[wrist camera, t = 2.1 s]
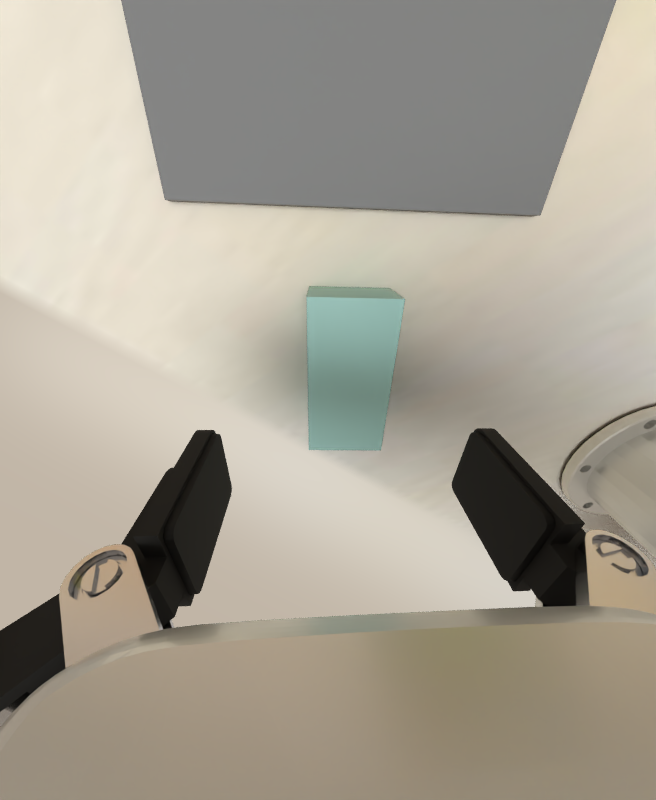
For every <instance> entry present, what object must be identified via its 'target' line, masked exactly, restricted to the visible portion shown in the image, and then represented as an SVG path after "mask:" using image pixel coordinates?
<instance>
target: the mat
mask: <svg viewBox="0 0 656 800" xmlns="http://www.w3.org/2000/svg"><path fill="white" fill-rule="evenodd" d="M121 1H122V6H123V11H124V15H125V20H126V24H127V29H128V33H129V38H130V43H131V47H132V52H133V56H134V61H135V65H136V70H137V75H138V79H139V84H140V88H141V93H142V97H143V102H144V106H145V111H146V116H147V120H148V125H149V129H150V134H151V138H152V143H153V148H154V152H155V157H156V161H157V166H158V170H159V175H160V180H161V184H162V189H163V193H164V198H165V200H168V201H180V202H204V203H228V204H252V205H276V206H301V207H325V208H349V209H373V210H397V211H421V212H446V213H470V214H494V215H518V216H538V215H541V212H542V209H543V206H544V204H545V201H546V198H547V195H548V192H549V189H550V187H551V184H552V181H553V178H554V175H555V172H556V170H557V167H558V164H559V161H560V158H561V155H562V153H563V150H564V147H565V144H566V141H567V138H568V136H569V133H570V130H571V127H572V124H573V121H574V119H575V116H576V113H577V110H578V107H579V104H580V102H581V99H582V96H583V93H584V90H585V87H586V85H587V82H588V79H589V76H590V73H591V70H592V68H593V65H594V62H595V59H596V56H597V53H598V51H599V48H600V45H601V42H602V39H603V36H604V34H605V31H606V28H607V25H608V22H609V19H610V17H611V14H612V11H613V8H614V5H615V2H616V0H121Z"/></svg>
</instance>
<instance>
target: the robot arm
mask: <svg viewBox="0 0 656 800" xmlns="http://www.w3.org/2000/svg"><path fill="white" fill-rule="evenodd" d="M561 485H562V490H563V492H564V494H565V496H566V497H567V498H568V499H569V500H570V501H571V502H572V503H573V505H574V506H576V507H577V508H578V509H580V510H582V511H585V512H588V513H592V514H599V515H610V516H611V517H612V518H613V519H614V520H615V521H616V522H617V523H618V524H619V525H620V526H622V527H623V528H624V529H625V530H626V531H627V532H628V533H629V534H630V535H631V536H632V537H633V538H634V539H635V540H636V541H637V542H638V543H639V544H640V545H642V546H643V547H644V548H645V549H646V550H647V551H648V552H649V553H650V554H651V555H652V556H653V557H654V558H655V559H656V406H654V407H650V408H647V409H643V410H640V411H637V412H635V413H632V414H630V415H627V416H625V417H623V418H621V419H619V420H617V421H615V422H613V423H611V424H609V425H608V426H606V427H605V428H603V429H602V430H600V431H599V432H597V433H596V434H594V435H593V436H592V437H591V438H589V439H588V440H587V441H586V442H585V443H583V445H582V446H581V447H580V448H579V449H578V450H577V451H576V452H575V453H574V454H573V456H572V457H571V459H570V460H569V461H568V463H567V465H566V467H565V469H564V472H563V475H562V480H561ZM452 488H453V491H454V493H455V495H456V497H457V498H458V500H459V502H460V504H461V506H462V507H463V509H464V511H465V513H466V515H467V516H468V518H469V520H470V522H471V524H472V525H473V527H474V529H475V531H476V532H477V534H478V536H479V538H480V540H481V541H482V543H483V545H484V547H485V549H486V550H487V552H488V554H489V556H490V557H491V559H492V561H493V563H494V565H495V566H496V568H497V570H498V572H499V574H500V575H501V577H502V578H503V579H504V580H506V581H508V583H509V585H510V586H511V588H512V590H513V591H529V590H530V589H532V591H533V592H534V594H535V595H536V603H535V607H523V608H499V609H475V610H452V611H432V612H411V613H391V614H369V615H350V616H332V617H312V618H294V619H275V620H257V621H244V622H230V623H216V624H202V625H193V626H185V627H177V628H174V626H173V623H172V620H171V619H172V618H174V617H175V614H176V612H177V609H178V606H191V603H192V600H193V597H194V594H198V593H200V591H201V589H202V586H203V583H204V580H205V577H206V574H207V570H208V567H209V564H210V561H211V558H212V554H213V551H214V548H215V545H216V541H217V538H218V535H219V532H220V529H221V525H222V522H223V518H224V516H225V512H226V509H227V506H228V503H229V499H230V497H231V491H232V488H231V481H230V477H229V472H228V467H227V463H226V458H225V453H224V449H223V444H222V439H221V436H220V434H216V433H215V431H214V430H197V431H196V432H195V433H194V435H193V437H192V438H191V440H190V442H189V443H188V445H187V446H186V448H185V450H184V452H183V453H182V455H181V457H180V458H179V460H178V462H177V463H176V465H175V467H174V468H170V469H169V470H168V471H167V472H166V473H165V475H164V476H163V478H162V480H161V481H160V483H159V484H158V486H157V488H156V489H155V491H154V492H153V494H152V496H151V497H150V499H149V500H148V502H147V504H146V505H145V507H144V509H143V510H142V512H141V513H140V515H139V517H138V518H137V520H136V522H135V523H134V525H133V527H132V528H131V530H130V531H129V533H128V534H127V536H126V538H125V539H124V541H123V542H122V544H114V545H109V546H105V547H103V548H100V549H98V550H96V551H94V552H92V553H91V554H89V555H87V556H86V557H84V558H83V559H82V560H81V561H80V562H78V563H77V564H76V565H75V566H74V567H73V568H72V569H71V571H70V572H69V573H68V574H67V576H66V577H65V579H64V581H63V583H62V585H61V587H60V593H59V594H58V595H56V596H55V597H53V598H51V599H50V600H48V601H47V602H45V603H44V604H42V605H40V606H39V607H37V608H36V609H34V610H32V611H31V612H29V613H28V614H26V615H24V616H23V617H21V618H20V619H18V620H17V621H15V622H14V623H12V624H10V625H9V626H7V627H5V628H4V629H2V630H1V631H0V800H656V569H655V567H654V565H653V563H652V562H651V561H650V559H649V558H648V557H647V556H646V555H645V554H644V553H643V552H642V551H641V550H639V549H638V548H637V547H636V546H634V545H633V544H632V543H630V542H629V541H627V540H625V539H623V538H622V537H620V536H618V535H616V534H613V533H610V532H607V531H603V530H597V529H596V530H590V531H589V532H587V533H585V532H584V530H583V529H582V526H583V525H584V524H585V523H584V522H583V521H582V520H581V519H580V518H579V517H578V516H577V515H576V514H575V512H574V511H573V510H572V509H571V508H570V507H569V506H568V505H567V504H566V503H565V502H564V501H563V500H562V499H561V498H560V497H559V496H558V495H557V494H556V493H555V492H554V491H553V489H552V488H551V487H550V486H549V485H548V484H547V483H546V482H545V481H544V480H543V479H542V478H541V477H540V476H539V475H538V474H537V473H536V472H535V471H534V470H533V469H532V467H531V466H530V465H529V464H528V463H527V462H526V461H525V460H524V459H523V458H522V457H521V456H520V455H519V454H518V453H517V452H516V451H515V450H514V449H513V448H512V447H511V446H510V444H509V443H508V442H507V441H506V440H505V439H504V438H503V437H502V436H501V435H500V434H499V433H498V432H497V431H496V430H495V429H492V428H489V429H476V430H475V431H474V432H473V433H471V434H470V436H469V439H468V441H467V444H466V446H465V449H464V452H463V454H462V457H461V460H460V462H459V465H458V468H457V470H456V473H455V475H454V478H453V481H452Z"/></svg>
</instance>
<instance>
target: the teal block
mask: <svg viewBox="0 0 656 800" xmlns="http://www.w3.org/2000/svg"><path fill="white" fill-rule="evenodd" d="M404 302H405V299H404V298H403V297H401V296H400V295H398V294H397V293H395V292H394V291H393V290H391V289H390V288H360V287H318V286H310V287H309V290H308V294H307V355H308V426H309V450H381V447H382V441H383V434H384V428H385V422H386V415H387V409H388V403H389V397H390V390H391V384H392V378H393V372H394V365H395V359H396V353H397V346H398V340H399V334H400V328H401V321H402V315H403V309H404Z"/></svg>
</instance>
